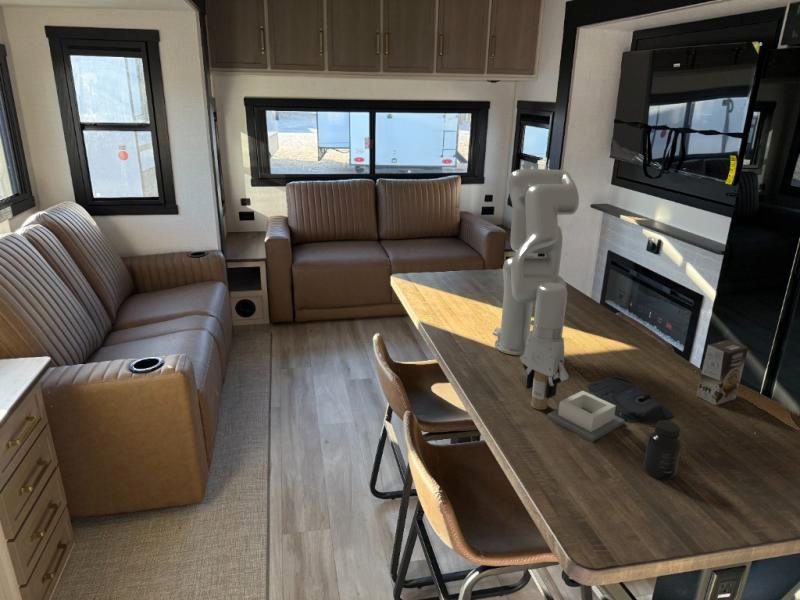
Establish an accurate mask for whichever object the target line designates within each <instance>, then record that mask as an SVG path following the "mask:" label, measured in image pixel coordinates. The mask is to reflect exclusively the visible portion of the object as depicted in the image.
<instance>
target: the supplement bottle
mask: <svg viewBox="0 0 800 600" xmlns="http://www.w3.org/2000/svg"><path fill="white" fill-rule="evenodd" d="M656 422H657V423H656V425H655V429H654V430H653V431H651V432H650V433H649V435H648V438H647V439H648V440H647V445H646V450H645V455H644V460H643V469H644V471H645V472H646V473H647V475H648V476H649V475H650V476H651V477H653V478H655V479H658V480H663V481H664V480H665V481H667V480H672V479H673V478H675V476H676V474H677V470H678V465H679V462H680V461H679V460H680V456H681V453H682V445H683V443H682V440H681V438H680V432H681V427H680V426H679V425H678V424H677V423H675V422H674V421H670V420H665V419H664V420H661V421H656Z"/></svg>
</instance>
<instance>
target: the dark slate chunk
mask: <svg viewBox="0 0 800 600" xmlns="http://www.w3.org/2000/svg"><path fill="white" fill-rule="evenodd" d="M586 387H587V389H588V390H589V392H591V393H593V394H592V395H594V396H596V397H598V398H600V399H602V400H604V401H607V402H609V403H611V404H613V405H615V406H616V408H615V414H614V415H615V416H617V417H619V418H621V419H623V420H625V423H626V422H628V423H629V424H636V423H653V422H654V423H655V422H658V421H662V420H665V419H666V420H667V419H668V418H672V417H674V416H673V415H674V414H673V412H672V411H671V410H669V409H668V408H667V407H666V406H665V405H663V404H661V403H660V402H659V401H657V400H656V399H654V398H653V397H652V396H651V395H650V394H649V393H647V392H646V391H645V390H644V389H642V388H641V387H639V386H637V385H636V384H634V383H633V382H632V380H630V379H628V378H627V377H625V376H610V377H607V378H603V379H601V380H598V381H594V382H591V383H590V384H588V385H586Z"/></svg>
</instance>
